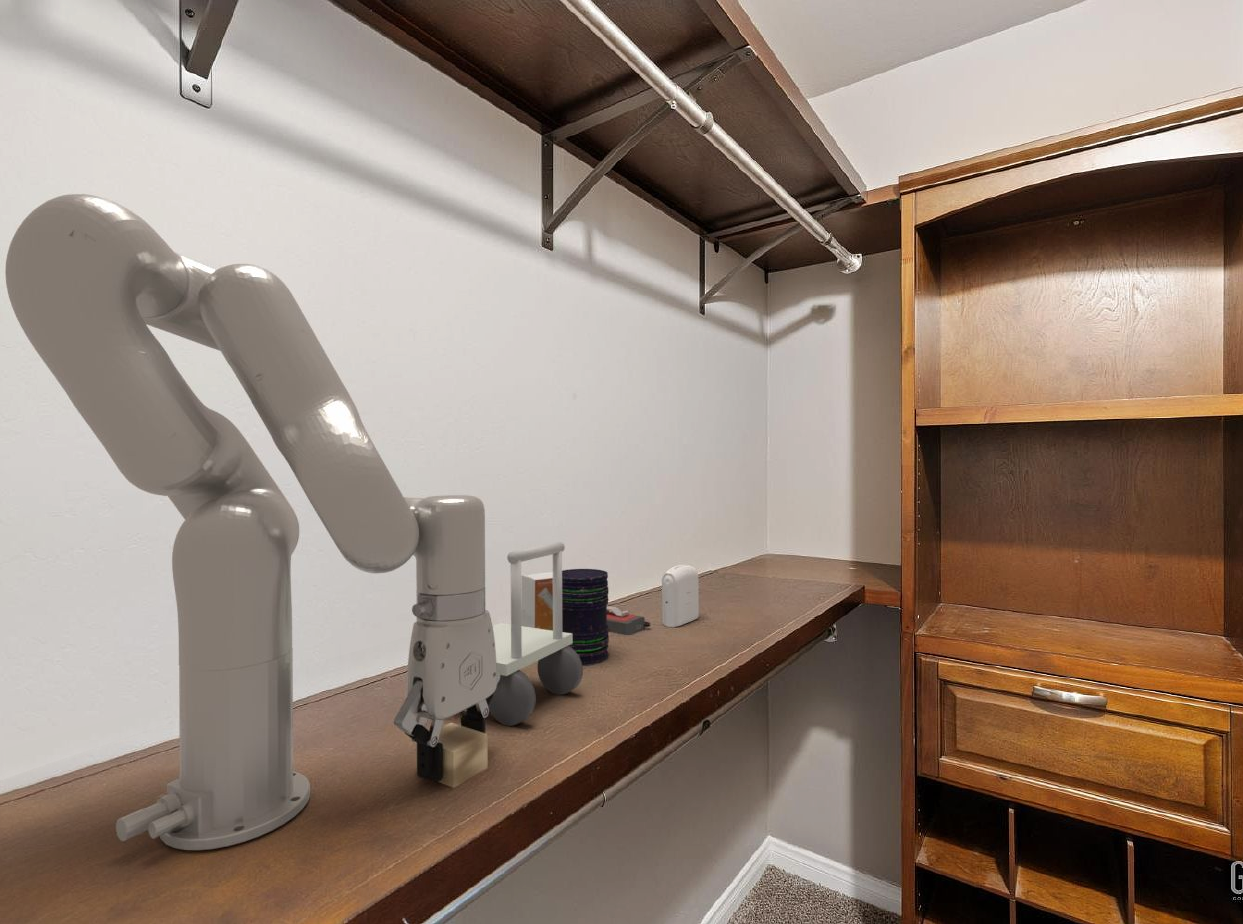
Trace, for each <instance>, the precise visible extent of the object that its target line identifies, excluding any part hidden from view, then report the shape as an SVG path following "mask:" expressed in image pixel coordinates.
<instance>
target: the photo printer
mask: <svg viewBox="0 0 1243 924" xmlns="http://www.w3.org/2000/svg"><path fill="white" fill-rule="evenodd" d="M699 582H700V581H699V572H698V569H697V568H695V567H694V566H693V565H688V564H678V565H675V566H673V567H671V568H670V569H668V570H666V572H665V573H663V575H662V578H661V606H662V607H661V612H662V614H661V615H662V617H661V619H662V624H663V625H664V626H665V627H667V628H676V627H681V626H682V625H685V624H687V623H690V622H692V621H695V620H697V619H699V615H700V602H699V601H700V598H699V597H700V595H699V593H700V591H699V588H700V587H699Z"/></svg>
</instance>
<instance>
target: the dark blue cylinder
mask: <svg viewBox="0 0 1243 924" xmlns="http://www.w3.org/2000/svg"><path fill="white" fill-rule="evenodd" d="M608 578H609V573H608V571H605V570H603V569H602V570H601V569H597V568H573V569H572V568H571V569H562V632H565V633H572V639H573V643H572V644H570V645H568V646H569V647H571V648H572V649H573V650H574V651H575V652H576V653H577V654H578V656H579V658H580V660H581V662H582V667H584V666H585V667H586V666H593V665H597V664H601V663H603V662H605V661H606V660H608V659H609V652H608V649H609V643H610V636H609V633H610V632H609V629H608V625H607V606H608V604H609V581H608Z"/></svg>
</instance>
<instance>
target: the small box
mask: <svg viewBox="0 0 1243 924" xmlns="http://www.w3.org/2000/svg"><path fill="white" fill-rule="evenodd" d="M521 626H524V627H530V628H537V629H544V630H551V631H553V571H548V572H538V573H532V574H530V573H529V574H521Z"/></svg>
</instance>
